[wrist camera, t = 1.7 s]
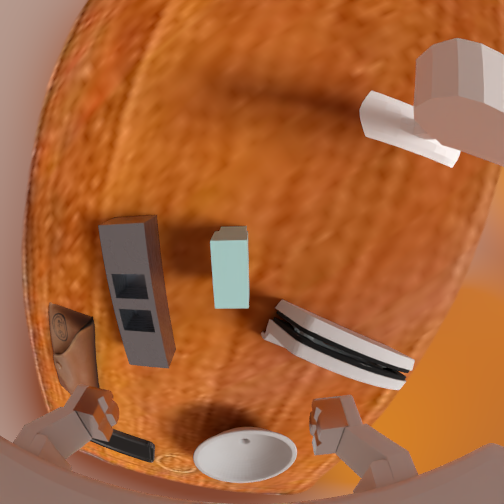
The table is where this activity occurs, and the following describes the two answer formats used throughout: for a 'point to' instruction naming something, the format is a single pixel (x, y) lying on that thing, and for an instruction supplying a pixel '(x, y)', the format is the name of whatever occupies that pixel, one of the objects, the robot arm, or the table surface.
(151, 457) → the phone
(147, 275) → the grey rectangular block
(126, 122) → the table surface
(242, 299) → the pale teal plug block
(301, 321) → the napkin holder
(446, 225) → the table surface
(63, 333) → the sunglasses case
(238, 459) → the dish
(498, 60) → the heart sculpture
